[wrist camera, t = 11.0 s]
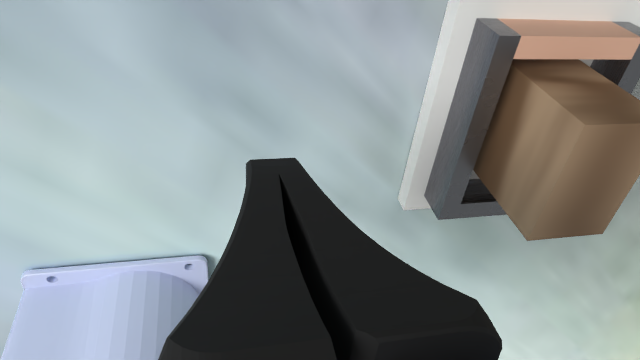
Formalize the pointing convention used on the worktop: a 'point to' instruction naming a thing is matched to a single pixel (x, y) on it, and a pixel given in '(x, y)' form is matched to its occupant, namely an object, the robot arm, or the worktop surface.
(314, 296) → the robot arm
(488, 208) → the grey tray
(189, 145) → the worktop surface
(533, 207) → the plug block
